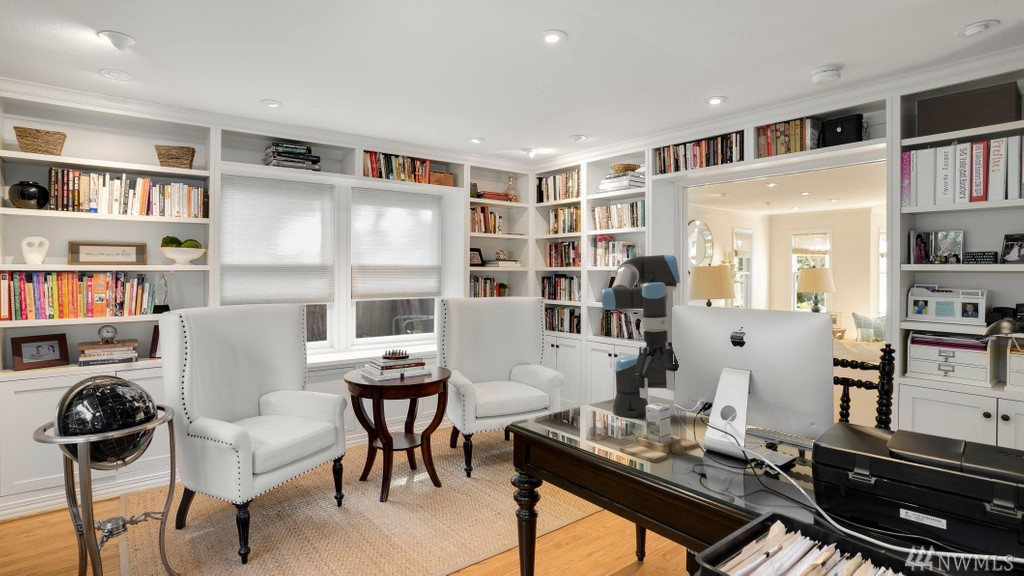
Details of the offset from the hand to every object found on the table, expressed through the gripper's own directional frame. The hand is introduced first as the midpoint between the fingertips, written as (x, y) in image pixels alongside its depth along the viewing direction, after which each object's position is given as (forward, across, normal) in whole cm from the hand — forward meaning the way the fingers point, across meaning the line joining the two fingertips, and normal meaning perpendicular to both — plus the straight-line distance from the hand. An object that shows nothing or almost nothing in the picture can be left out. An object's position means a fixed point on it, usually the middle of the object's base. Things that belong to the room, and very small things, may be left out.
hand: (657, 393), depth 176 cm
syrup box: (+18, -1, 0) cm, 18 cm away
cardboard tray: (+18, -1, 0) cm, 18 cm away
